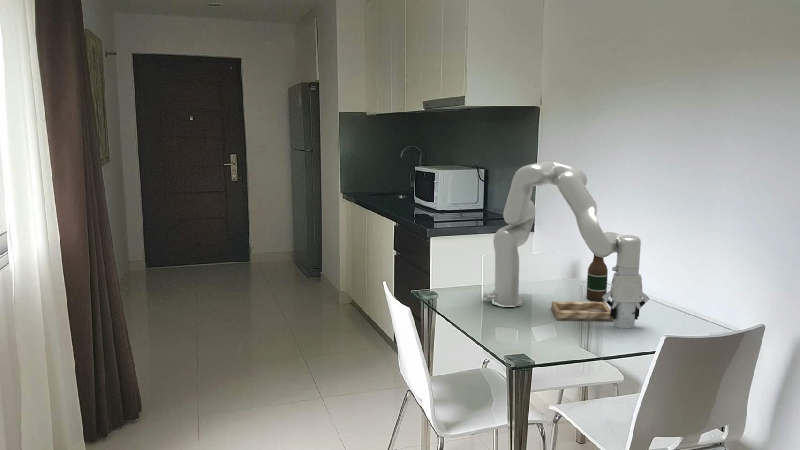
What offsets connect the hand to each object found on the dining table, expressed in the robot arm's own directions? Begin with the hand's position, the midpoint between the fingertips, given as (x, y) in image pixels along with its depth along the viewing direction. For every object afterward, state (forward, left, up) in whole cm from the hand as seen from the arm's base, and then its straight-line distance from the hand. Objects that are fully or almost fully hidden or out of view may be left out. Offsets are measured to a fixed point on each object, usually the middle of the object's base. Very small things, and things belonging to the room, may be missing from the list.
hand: (624, 317), depth 212 cm
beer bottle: (-3, +30, -3) cm, 30 cm away
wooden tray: (-13, +11, -3) cm, 17 cm away
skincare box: (0, 0, -3) cm, 3 cm away
